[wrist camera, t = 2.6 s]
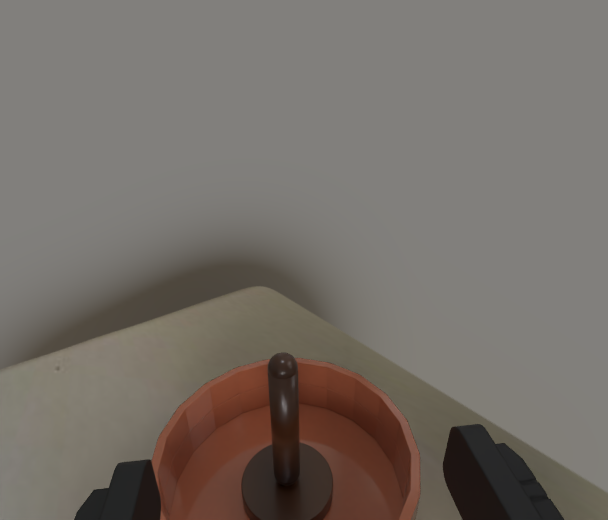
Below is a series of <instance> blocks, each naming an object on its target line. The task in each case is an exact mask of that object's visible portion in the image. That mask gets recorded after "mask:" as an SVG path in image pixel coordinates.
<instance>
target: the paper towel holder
mask: <svg viewBox="0 0 608 520" xmlns="http://www.w3.org/2000/svg"><path fill="white" fill-rule="evenodd" d="M267 371H268V387H269V402H270V418H271V434H272V444H271V445H269V446H267V447H265V448H263V449H262V450H260V451H259V452H258V453H257V454H255V455H254V456H253V458H252V459H251V460H250V461H249V463H248V464H247V466H246V468H245V470H244V473H243V477H242V483H241V490H242V499H243V505H244V508H245V511H246V513H247V515H248V517H249V519H250V520H323V519H324V517H325V516H326V514H327V512H328V510H329V508H330V505H331V502H332V496H333V476H332V472H331V469H330V466H329V464H328V463H327V461H326V459H325V458H324V457H323V456H322V455H321V454H320V453H319V452H318V451H317V450H316V449H314V448H313V447H311V446H309V445H307V444H304V443H300V442H299V389H298V364H297V361H296V359H295V358H294V357H293V356H292V355H290V354H288V353H278V354H276V355H274V356H273V357H272V358H271V359H270V361H269V363H268V368H267Z"/></svg>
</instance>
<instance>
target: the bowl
mask: <svg viewBox="0 0 608 520" xmlns="http://www.w3.org/2000/svg"><path fill="white" fill-rule="evenodd" d="M295 359H296V361H297V364H298V389H299V442H300V443H304V444H307V445H309V446H311V447H313V448H314V449H316V450H317V451H318V452H319V453H320V454H321V455H322V456H323V457H324V458H325V459H326V461H327V463H328V464H329V466H330V469H331V472H332V476H333V496H332V502H331V505H330V508H329V510H328V512H327V514H326V516H325V517H324V519H323V520H415V519H416V514H417V509H418V504H419V499H420V453H419V451H418V448H417V445H416V443H415V440H414V437H413V435H412V432H411V429H410V427H409V424H408V421H407V419H406V418H405V417H404V416H403V414H402V413H401V412H400V411H399V409H398V408H397V407H396V406H395V404H394V403H393V402H392V401H391V399H390V398H389V397H388V395H387V394H386V393H384V392H383V391H381V390H380V389H379V388H377V387H376V386H375V385H373V384H372V383H370V382H369V381H368V380H366V379H365V378H364V377H362V376H361V375H359V374H357V373H354V372H352V371H349V370H347V369H344V368H342V367H339V366H337V365H334V364H332V363H328V362H322V361H315V360H309V359H303V358H295ZM269 361H270V359H269V360H263V361H259V362H255V363H252V364H248V365H244V366H241V367H237V368H235V369H232V370H230V371H228V372H227V373H225V374H223V375H221V376H219V377H217V378H215V379H213V380H211V381H209V382H207V383H206V384H204V385H203V386H202V387H201V388H200V389H198V390H197V391H196V392H195V393H194V394H193V395H192V396H190V397H189V398H188V399H187V400H186V401H185V402H184V403H182V404H181V405H180V406H179V407H178V409H177V410H176V412H175V413H174V415H173V416H172V418H171V419H170V421H169V422H168V424H167V425H166V427H165V428H164V430H163V431H162V433H161V434H160V436H159V438H158V440H157V444H156V447H155V451H154V454H153V458H152V461H151V462H152V466H153V470H154V473H155V477H156V481H157V485H158V489H159V493H160V498H161V517H160V520H250V519H249V517H248V515H247V513H246V511H245V508H244V505H243V499H242V490H241V483H242V477H243V473H244V470H245V468H246V466H247V464H248V463H249V461H250V460H251V459H252V458H253V456H254V455H255V454H257V453H258V452H259V451H260V450H262V449H263V448H265V447H267V446H269V445H271V444H272V434H271V418H270V402H269V387H268V371H267V368H268V363H269Z"/></svg>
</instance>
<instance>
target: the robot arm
mask: <svg viewBox="0 0 608 520" xmlns="http://www.w3.org/2000/svg"><path fill="white" fill-rule="evenodd" d="M443 472H444V477H445V481H446V484H447V487H448V489H449V491H450V493H451V496H452V498H453V500H454V502H455V504H456V506H457V508H458V511H459V513H460V515H461V517H462V519H463V520H564V518H563V517H562V515H561V514H560V513H559V511H558V510H557V508H556V507H555V505H554V504H553V502H552V501H551V499H548V497H547V494H546V492H545V491H544V489H543V488H542V486H541V485H540V483H539V482H538V483H537V481H536V478H535V476H534V475H533V473H532V472H531V470H530V469H529V467H528V466H527V465H526V463H525V462H524V460H523V459H522V458H521V457H520V456H519V455H517V454H516V453H515V452H514V451H513V450H512V449H510V448H509V447H508V446H507V445H506V444H505V443H500V444H495V443H494V441H493V440H492V438H491V437H490V435H489V434H488V432H487V431H486V429H485V428H484V427H483V426H482V425H480V424H475V425H466V426H457V427H452V428H451V430H450V434H449V439H448V443H447V448H446V452H445V457H444V461H443ZM160 517H161V498H160V493H159V489H158V485H157V481H156V477H155V473H154V470H153V466H152V462H151V460H140V461H131V462H122V463H118V464H117V466H116V468H115V470H114V473H113V476H112V480H111V483H110V486H109V488H105V489H97V490H93V492H92V493H91V494H90V496H89V497H88V498H87V500H86V501H85V502H84V504H83V505H82V506H81V508H80V509H79V510H78V512H77V514H76V516H75V519H74V520H160Z"/></svg>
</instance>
